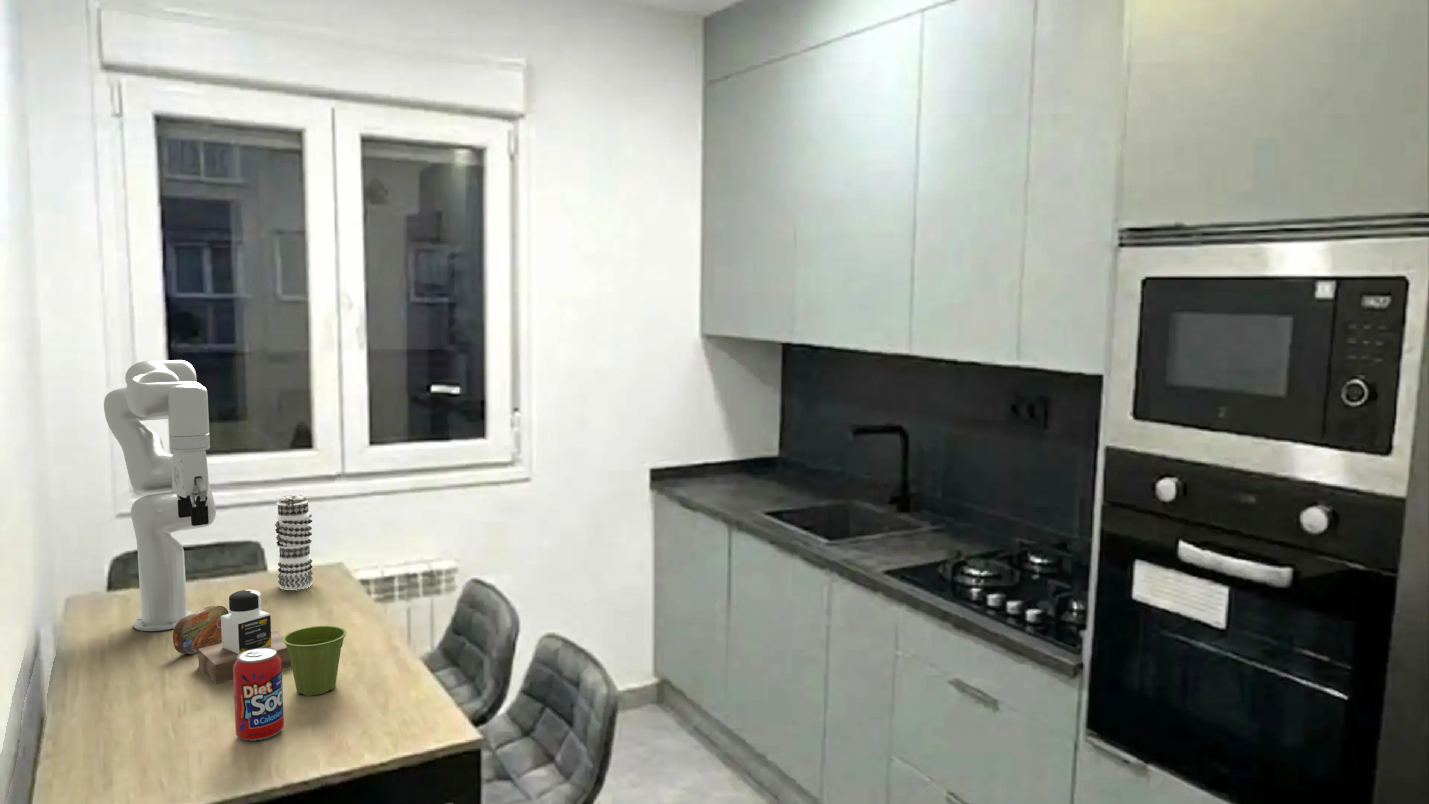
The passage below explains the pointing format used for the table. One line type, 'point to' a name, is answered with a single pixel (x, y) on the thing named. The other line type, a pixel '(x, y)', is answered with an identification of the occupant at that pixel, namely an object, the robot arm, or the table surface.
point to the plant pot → (315, 657)
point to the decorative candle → (294, 542)
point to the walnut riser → (233, 659)
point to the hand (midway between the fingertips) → (193, 520)
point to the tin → (199, 630)
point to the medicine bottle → (245, 623)
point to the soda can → (258, 694)
